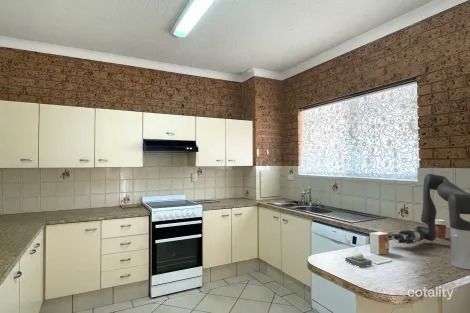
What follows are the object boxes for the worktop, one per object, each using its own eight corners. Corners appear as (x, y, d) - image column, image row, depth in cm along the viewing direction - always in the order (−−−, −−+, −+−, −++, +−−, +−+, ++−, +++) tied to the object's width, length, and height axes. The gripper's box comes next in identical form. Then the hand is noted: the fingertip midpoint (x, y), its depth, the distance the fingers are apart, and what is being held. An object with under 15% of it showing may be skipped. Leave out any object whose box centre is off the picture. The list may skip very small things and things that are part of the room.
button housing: (371, 264, 127) (371, 260, 127) (359, 267, 123) (359, 262, 123) (356, 259, 134) (356, 255, 134) (345, 261, 130) (345, 257, 130)
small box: (378, 255, 141) (378, 234, 141) (369, 252, 146) (369, 232, 146) (389, 253, 144) (389, 233, 144) (380, 250, 149) (379, 231, 149)
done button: (365, 260, 128) (365, 255, 128) (359, 262, 126) (359, 256, 126) (357, 257, 132) (357, 252, 132) (351, 259, 130) (351, 254, 130)
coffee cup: (451, 240, 171) (450, 221, 172) (434, 239, 173) (434, 220, 174) (443, 237, 180) (442, 218, 181) (427, 236, 182) (427, 218, 183)
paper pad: (391, 261, 132) (391, 259, 132) (377, 264, 127) (377, 263, 127) (371, 254, 142) (371, 253, 142) (356, 257, 137) (356, 256, 137)
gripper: (397, 227, 164) (379, 229, 156) (422, 232, 151) (404, 235, 144) (397, 239, 163) (379, 242, 156) (422, 246, 151) (404, 249, 143)
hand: (391, 239), depth 150 cm, fingers open, 8 cm apart
